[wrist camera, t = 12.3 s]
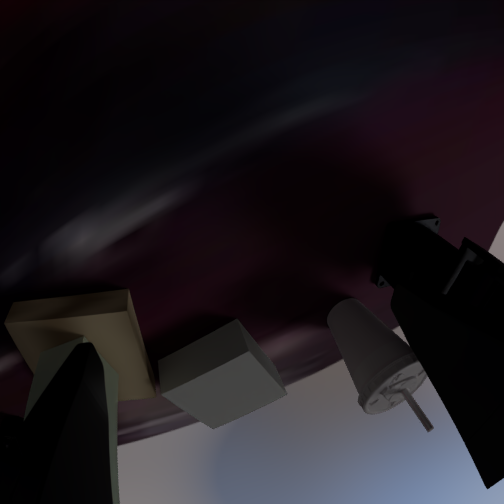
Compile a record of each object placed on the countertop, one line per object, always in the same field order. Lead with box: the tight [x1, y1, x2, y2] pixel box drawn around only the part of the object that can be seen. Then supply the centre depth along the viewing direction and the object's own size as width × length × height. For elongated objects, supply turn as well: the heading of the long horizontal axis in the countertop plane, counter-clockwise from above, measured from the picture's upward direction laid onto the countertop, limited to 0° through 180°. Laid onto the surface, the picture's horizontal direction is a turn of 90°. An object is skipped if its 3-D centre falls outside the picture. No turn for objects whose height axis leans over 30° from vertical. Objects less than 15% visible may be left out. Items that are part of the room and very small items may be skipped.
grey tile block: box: [158, 319, 287, 429], centre depth 27 cm, size 8×8×4 cm
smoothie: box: [327, 298, 434, 432], centre depth 23 cm, size 6×6×14 cm
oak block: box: [4, 289, 156, 401], centre depth 22 cm, size 10×10×3 cm
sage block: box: [24, 336, 120, 504], centre depth 16 cm, size 5×5×11 cm
